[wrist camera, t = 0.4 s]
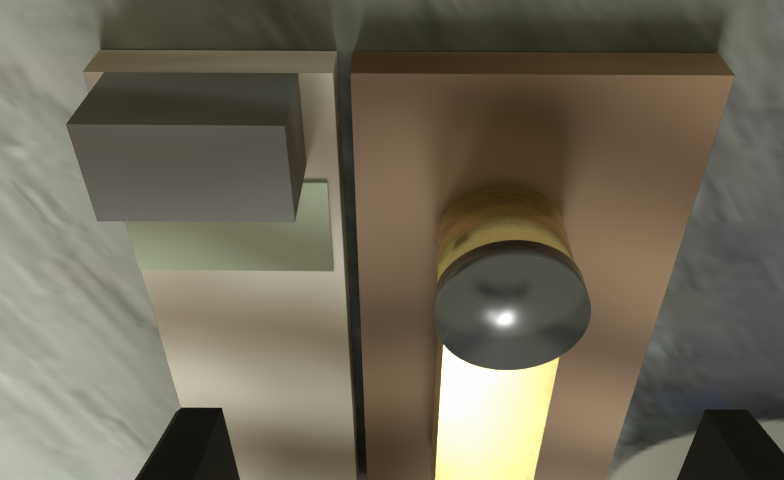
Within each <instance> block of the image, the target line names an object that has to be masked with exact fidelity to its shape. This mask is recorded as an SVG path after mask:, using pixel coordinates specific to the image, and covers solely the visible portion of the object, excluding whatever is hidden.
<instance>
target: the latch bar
mask: <svg viewBox="0 0 784 480" xmlns="http://www.w3.org/2000/svg"><path fill="white" fill-rule="evenodd" d="M435 246H436V267H437V285H436V288H435V292H434V315H435V328H436V332H437V334H438V335H437V353H436V372H435V390H434V409H433V428H432V446H431V480H533V479H534V475H535V470H536V465H537V461H538V456H539V451H540V447H541V442H542V437H543V432H544V428H545V423H546V418H547V414H548V409H549V404H550V399H551V395H552V390H553V385H554V381H555V376H556V371H557V366H558V362H559V357H560V356H561V355H563V354H564V353H566V352H567V351H569V350H570V349H571V348H572V347H574V346H575V344H576V343H577V342H578V341H579V340H580V339H581V338H582V336H583V335H584V333H585V331H586V329H587V328H588V325H589V322H590V317H591V304H590V299H589V296H588V292H587V289H586V285H585V281H584V278H583V275H582V273H581V271H580V269H579V268H578V266H577V265H576V264H575V262H574V258H573V254H572V251H571V247H570V244H569V240H568V236H567V233H566V229H565V225H564V222H563V218H562V216H561V214H560V212H559V210H558V209H557V207H556V206H555V205H554V204H553V203H552V202H551V201H550V200H549V199H548V198H546V197H545V196H543V195H542V194H540V193H538V192H536V191H534V190H531V189H528V188H525V187H520V186H514V185H496V186H489V187H485V188H481V189H478V190H475V191H473V192H470V193H468V194H467V195H465V196H463V197H461V198H460V199H458V200H457V201H456V202H454V203H453V204H452V205H451V206H450V207H449V208H448V209H447V210H446V211H445V213H444V214H443V216H442V217H441V219H440V221H439V223H438V226H437V229H436V235H435Z"/></svg>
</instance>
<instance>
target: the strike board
mask: <svg viewBox="0 0 784 480" xmlns="http://www.w3.org/2000/svg"><path fill="white" fill-rule="evenodd" d="M83 75H84V78H85V81H86V85H87V88H88V92H89V94H88V95H87V96H86V98H85V99H84V100H83V102H82V103H81V105H80V106H79V107H78V109H77V110H76V111H75V113H74V114H73V116H72V117H71V118H70V120H69V121H68V122H67V124H66V126H67V129H68V132H69V135H70V138H71V141H72V144H73V147H74V150H75V153H76V156H77V159H78V162H79V166H80V169H81V172H82V175H83V178H84V181H85V184H86V187H87V190H88V193H89V196H90V199H91V202H92V206H93V209H94V212H95V215H96V218H97V221H125V224H126V227H127V231H128V234H129V237H130V241H131V244H132V248H133V251H134V254H135V258H136V261H137V265H138V268H139V270H141V272H142V276H143V279H144V283H145V286H146V289H147V293H148V296H149V300H150V303H151V306H152V310H153V313H154V317H155V320H156V324H157V327H158V330H159V334H160V337H161V341H162V344H163V347H164V351H165V354H166V358H167V361H168V364H169V368H170V371H171V375H172V378H173V381H174V385H175V388H176V392H177V395H178V399H179V402H180V405H181V408H182V407H188V408H222V410H223V414H224V418H225V422H226V426H227V430H228V434H229V438H230V442H231V446H232V450H233V454H234V458H235V462H236V466H237V469H238V473H239V477H240V480H359V458H358V439H357V420H356V401H355V383H354V364H353V345H352V326H351V307H350V288H349V270H348V251H347V232H346V213H345V194H344V175H343V157H342V138H341V119H340V100H339V81H338V62H337V51H222V50H99V52H98V53H97V54H96V55H95V57H94V58H93V59H92V61H91V62H90V63H89V64H88V66H87V67H86V68H85V70H84V71H83ZM734 77H735V75H734V74H733V72H732V71H731V70H730V68H729V67H728V66H727V65H726V63H725V62H724V61H723V59H722V58H721V57H720V56H719V54H718V53H605V52H413V51H353V57H352V65H351V72H350V79H351V103H352V127H353V151H354V175H355V199H356V223H357V247H358V271H359V295H360V319H361V343H362V367H363V391H364V415H365V439H366V463H367V480H431V446H432V428H433V409H434V390H435V372H436V353H437V335H438V334H437V332H436V328H435V315H434V292H435V288H436V285H437V267H436V246H435V235H436V229H437V226H438V223H439V221H440V219H441V217H442V216H443V214H444V213H445V211H446V210H447V209H448V208H449V207H450V206H451V205H452V204H453V203H454V202H456V201H457V200H458V199H460V198H461V197H463V196H465V195H467V194H468V193H470V192H473V191H475V190H478V189H481V188H485V187H489V186H496V185H514V186H520V187H525V188H528V189H531V190H534V191H536V192H538V193H540V194H542V195H543V196H545V197H546V198H548V199H549V200H550V201H551V202H552V203H553V204H554V205H555V206H556V207H557V209H558V210H559V212H560V214H561V216H562V218H563V222H564V225H565V229H566V233H567V236H568V240H569V244H570V247H571V251H572V254H573V258H574V262H575V264H576V265H577V266H578V268H579V269H580V271H581V273H582V275H583V278H584V281H585V285H586V289H587V292H588V296H589V299H590V304H591V317H590V322H589V325H588V328H587V329H586V331H585V333H584V335H583V336H582V338H581V339H580V340H579V341H578V342H577V343H576V344H575V346H574V347H572V348H571V349H570V350H569V351H567V352H566V353H564V354H563V355H561V356H560V357H559V362H558V366H557V371H556V376H555V381H554V385H553V390H552V395H551V399H550V404H549V409H548V414H547V418H546V423H545V428H544V432H543V437H542V442H541V447H540V451H539V456H538V461H537V465H536V470H535V475H534V479H533V480H605V479H606V475H607V472H608V469H609V466H610V463H611V460H612V457H613V454H614V451H615V447H616V444H617V441H618V438H619V435H620V432H621V429H622V426H623V423H624V419H625V416H626V413H627V410H628V407H629V404H630V401H631V398H632V395H633V391H634V388H635V385H636V382H637V379H638V376H639V373H640V370H641V367H642V363H643V360H644V357H645V354H646V351H647V348H648V345H649V342H650V339H651V336H652V332H653V329H654V326H655V323H656V320H657V317H658V314H659V311H660V308H661V304H662V301H663V298H664V295H665V292H666V289H667V286H668V283H669V280H670V276H671V273H672V270H673V267H674V264H675V261H676V258H677V255H678V252H679V248H680V245H681V242H682V239H683V236H684V233H685V230H686V227H687V224H688V220H689V217H690V214H691V211H692V208H693V205H694V202H695V199H696V196H697V192H698V189H699V186H700V183H701V180H702V177H703V174H704V171H705V168H706V164H707V161H708V158H709V155H710V152H711V149H712V146H713V143H714V140H715V136H716V133H717V130H718V127H719V124H720V121H721V118H722V115H723V112H724V108H725V105H726V102H727V99H728V96H729V93H730V90H731V87H732V84H733V81H734Z"/></svg>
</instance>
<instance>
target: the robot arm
mask: <svg viewBox="0 0 784 480" xmlns="http://www.w3.org/2000/svg"><path fill="white" fill-rule="evenodd" d="M135 480H240V477H239V473H238V469H237V466H236V462H235V458H234V454H233V450H232V446H231V442H230V438H229V434H228V430H227V426H226V422H225V418H224V414H223V410H222V408H188V407H182V408H181V409H179V410H178V411H177V412H176V413H175V415H174V416H173V418H172V420H171V422H170V423H169V425H168V427H167V428H166V430H165V432H164V434H163V435H162V437H161V439H160V440H159V442H158V444H157V445H156V447H155V448H154V450H153V452H152V453H151V455H150V457H149V458H148V460H147V461H146V463H145V465H144V466H143V468H142V469H141V471H140V473H139V474H138V476H137V477H136V479H135ZM677 480H784V453H783V452H782V451H781V449H780V448H779V447H778V446H777V445H776V443H775V442H774V441H773V440H772V439H771V437H770V436H769V435H768V434H767V433H766V431H765V430H764V429H763V428H762V426H761V425H760V424H759V423H758V422H757V420H756V419H755V418H754V417H753V416H752V415H751V414H750V412H749V411H748V410H705V412H704V414H703V417H702V419H701V421H700V424H699V426H698V429H697V431H696V434H695V436H694V439H693V442H692V444H691V446H690V449H689V451H688V454H687V456H686V459H685V461H684V464H683V467H682V469H681V471H680V474H679V476H678V478H677Z"/></svg>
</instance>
